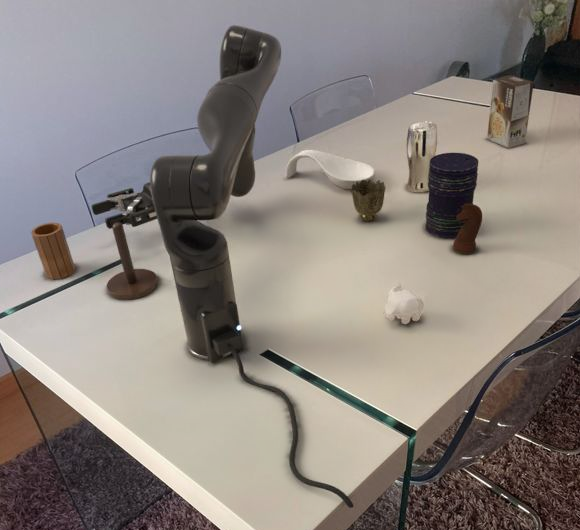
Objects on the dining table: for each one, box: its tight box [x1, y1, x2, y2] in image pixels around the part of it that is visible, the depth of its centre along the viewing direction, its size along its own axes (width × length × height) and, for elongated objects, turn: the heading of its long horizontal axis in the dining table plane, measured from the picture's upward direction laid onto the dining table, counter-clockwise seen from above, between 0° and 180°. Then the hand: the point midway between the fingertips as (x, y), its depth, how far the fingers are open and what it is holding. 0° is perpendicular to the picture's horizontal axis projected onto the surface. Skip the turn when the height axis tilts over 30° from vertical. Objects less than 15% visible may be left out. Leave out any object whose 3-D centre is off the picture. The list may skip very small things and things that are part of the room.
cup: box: [351, 179, 386, 222], centre depth 142 cm, size 8×7×8 cm
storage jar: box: [425, 152, 479, 240], centre depth 134 cm, size 10×10×15 cm
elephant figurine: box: [383, 284, 427, 325], centre depth 111 cm, size 7×8×6 cm
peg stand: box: [106, 223, 159, 301], centre depth 124 cm, size 10×10×14 cm
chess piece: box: [452, 203, 483, 256], centre depth 128 cm, size 5×5×10 cm
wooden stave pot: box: [30, 222, 76, 280], centre depth 133 cm, size 6×6×10 cm
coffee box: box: [486, 74, 535, 149], centre depth 171 cm, size 9×6×16 cm
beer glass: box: [406, 120, 438, 194], centre depth 152 cm, size 7×7×15 cm
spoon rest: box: [285, 149, 376, 190], centre depth 161 cm, size 24×12×7 cm, turn 62°
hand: (99, 217), depth 135 cm, fingers open, 8 cm apart
